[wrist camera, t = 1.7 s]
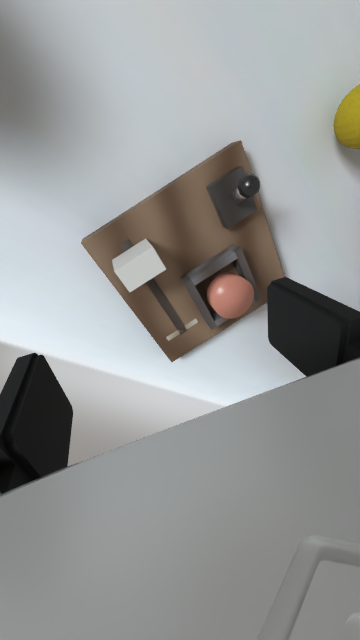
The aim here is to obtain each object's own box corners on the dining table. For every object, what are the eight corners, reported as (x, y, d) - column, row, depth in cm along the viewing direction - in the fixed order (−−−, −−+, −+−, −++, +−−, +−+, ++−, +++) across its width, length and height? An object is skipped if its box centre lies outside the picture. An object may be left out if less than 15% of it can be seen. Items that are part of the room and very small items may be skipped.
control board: (231, 143, 26) (251, 137, 23) (279, 283, 36) (298, 294, 32) (82, 239, 27) (79, 247, 23) (168, 353, 36) (175, 371, 33)
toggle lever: (239, 184, 25) (257, 166, 21) (248, 201, 26) (267, 186, 21) (223, 194, 25) (237, 178, 21) (232, 211, 26) (248, 198, 21)
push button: (236, 264, 28) (245, 269, 26) (250, 296, 30) (259, 303, 29) (200, 287, 28) (206, 293, 26) (216, 318, 30) (223, 326, 29)
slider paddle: (145, 238, 26) (152, 246, 23) (157, 258, 27) (166, 269, 24) (112, 259, 26) (114, 271, 23) (125, 279, 27) (129, 292, 24)
